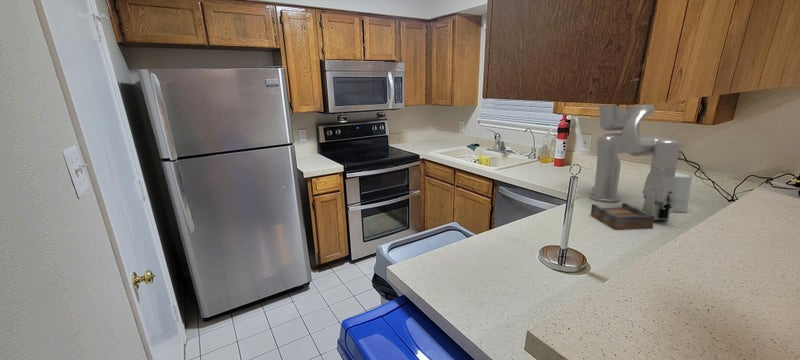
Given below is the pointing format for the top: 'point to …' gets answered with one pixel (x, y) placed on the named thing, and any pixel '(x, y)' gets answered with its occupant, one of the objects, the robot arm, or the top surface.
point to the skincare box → (681, 192)
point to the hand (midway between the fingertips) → (655, 214)
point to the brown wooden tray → (623, 217)
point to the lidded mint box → (653, 206)
